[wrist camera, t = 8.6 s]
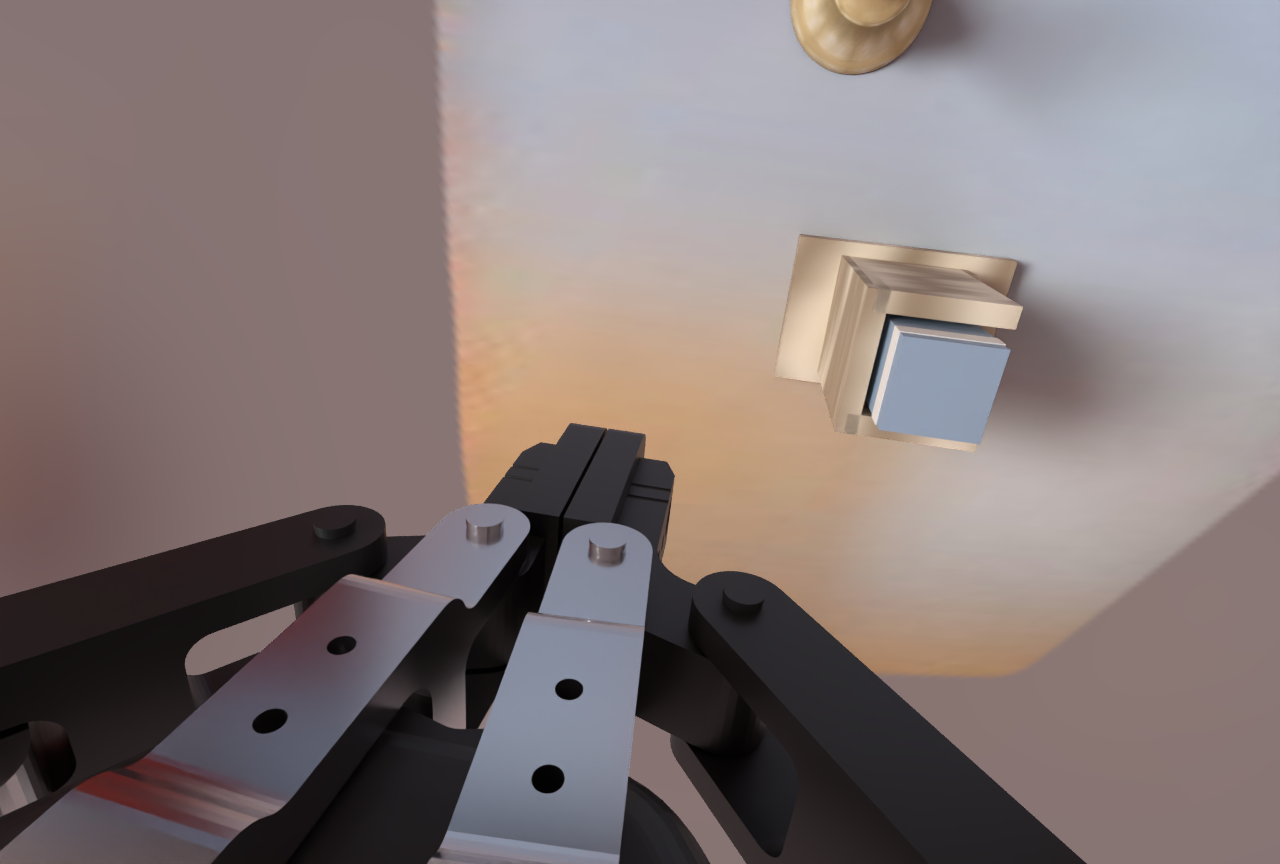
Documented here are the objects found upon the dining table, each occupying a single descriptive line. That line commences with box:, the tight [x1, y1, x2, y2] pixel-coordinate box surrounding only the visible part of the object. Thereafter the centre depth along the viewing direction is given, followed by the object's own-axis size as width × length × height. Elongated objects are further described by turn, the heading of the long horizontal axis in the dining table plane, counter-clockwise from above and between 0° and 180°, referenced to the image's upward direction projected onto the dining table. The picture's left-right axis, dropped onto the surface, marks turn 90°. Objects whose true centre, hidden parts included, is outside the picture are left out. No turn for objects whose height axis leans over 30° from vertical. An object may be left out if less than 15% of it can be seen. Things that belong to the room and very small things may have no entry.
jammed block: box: [865, 313, 1011, 444], centre depth 40 cm, size 5×5×14 cm
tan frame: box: [774, 234, 1023, 452], centre depth 42 cm, size 14×10×13 cm
